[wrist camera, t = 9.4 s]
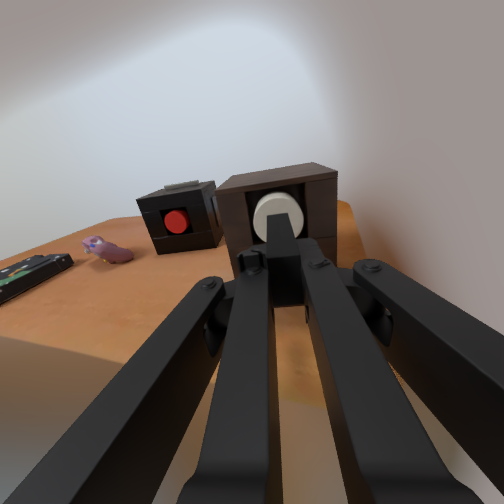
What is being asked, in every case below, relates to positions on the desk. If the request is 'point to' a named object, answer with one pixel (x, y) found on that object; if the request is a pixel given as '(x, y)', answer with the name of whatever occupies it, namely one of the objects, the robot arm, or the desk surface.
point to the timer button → (277, 212)
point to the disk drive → (30, 273)
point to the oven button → (177, 220)
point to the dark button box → (199, 210)
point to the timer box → (286, 180)
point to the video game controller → (106, 250)
